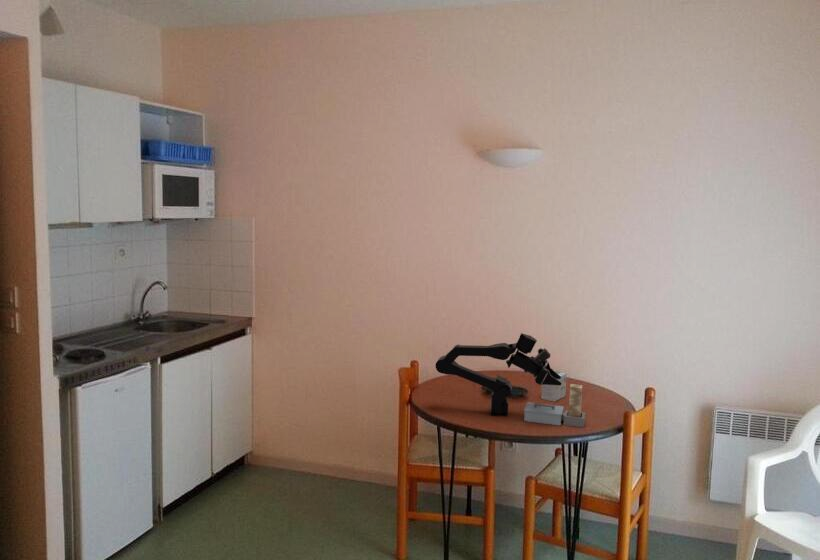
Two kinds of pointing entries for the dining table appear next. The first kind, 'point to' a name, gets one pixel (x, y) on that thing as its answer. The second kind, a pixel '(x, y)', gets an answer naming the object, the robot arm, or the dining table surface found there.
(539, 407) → the toolbox
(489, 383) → the robot arm
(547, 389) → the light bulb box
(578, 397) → the wooden block
